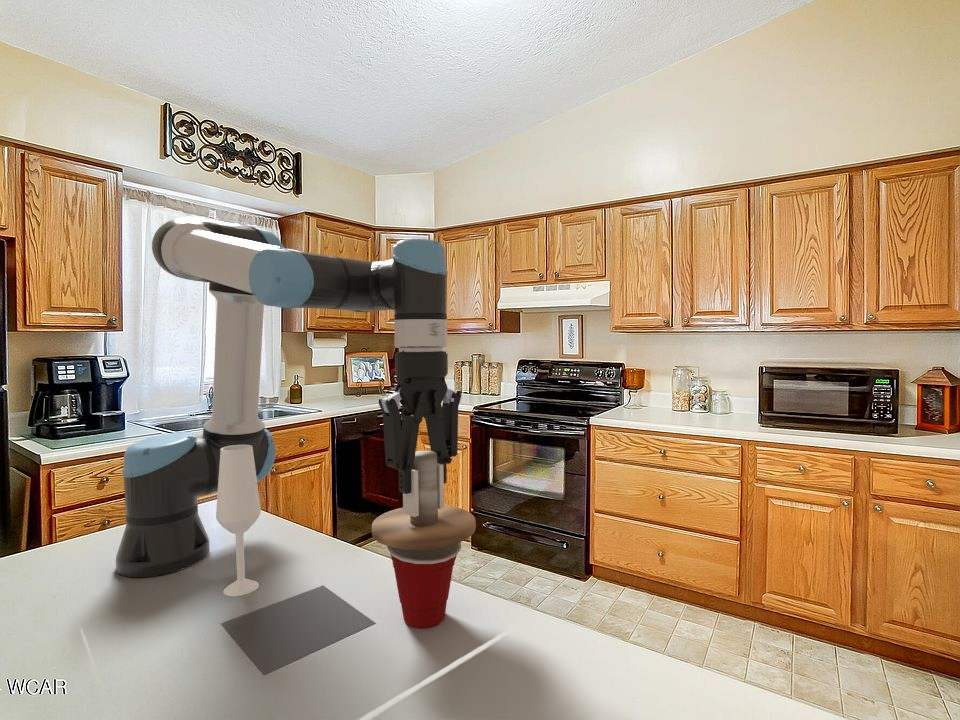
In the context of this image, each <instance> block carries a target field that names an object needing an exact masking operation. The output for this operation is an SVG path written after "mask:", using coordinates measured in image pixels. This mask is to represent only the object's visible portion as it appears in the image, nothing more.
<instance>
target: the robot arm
mask: <svg viewBox="0 0 960 720" xmlns="http://www.w3.org/2000/svg"><path fill="white" fill-rule="evenodd" d="M151 250H152V254H153V257H154V260H155V261H156V263H157V264H158V266H159V267H160V268H161V269H162V270H164V271H165V272H167V273H168V274H170V275H172V276H174V277H178V278H179V279H183V280H188V281H195V282H202V283H208V291H209V293H210V294H211V295H212V296H213V298H215V300H216V303H217V304H216V318H215V319H216V320H215V321H216V323H215V344H214V345H215V347H214V362H213V363H214V366H213V385H212V386H213V389H212V390H213V391H212V392H213V393H212V411H211V412H212V413H211V417H210V418H209V419H208V420H207V421H205V422H204V424H203V429H202V431H203V432H202V436H199V437H196V435H195V434H194V432H191V431H176V432H172V433H163V434H159V435H158V434H157V435H154V436H151V437H148V438H145V439H142V440H138V441H136V442H134V443H133V444H131V445H130V446H128V447H127V448H126V450H125V451H124V454H123V466H122V467H123V469H122V472H121V473H122V476H123V485H124V488H123V490H124V508H125V509H124V511H125V528H124V531H123V533H122V538H121V540H120V544H119V547H118V549H117V553H116V556H115V569H116V573H118V574H119V575H120V576H123V577H128V578H129V577H130V578H147V577H150V578H151V577H157V576H161V575H167V574H171V573H175V572H178V571H181V570H184V569H187V568H189V567H191V566H193V565H197V564H198V563H199V562H201V561H203V560H204V559H205V558H206V557H208V555H209V554H210V551H211V550H210V549H211V547H210V538H209V536H208V534H207V532H206V529H205V526H204V524H203V522H202V520H201V517H200V515H199V508H198V507H199V505H198V504H199V502H198V501H199V499H198V498H199V497H204V496H207V495H212V494H213V495H214V494H216V493H217V494H218V479H219V465H220V450H221V448H223V447H227V446H232V445H252V447H253V455H254V462H255V469H256V477H257V483H258V482H260V481H262V480H264V478H266V477H267V476H268V475H269V474H270V473H271V471H272V469H273V466H274V464H275V461H276V444H275V443H274V440H275V439H274V437H273V434H272V433H271V432H270V431H269V430H268V429H267V428H266V424H265V422H264V421H263V420H261V418H259V416H258V415H259V401H260V382H261V381H260V379H261V365H262V363H261V362H262V349H263V348H262V347H263V344H262V343H263V329H264V313H265V310H264V309H265V306H267V307H276V308H280V309H288V310H291V309H293V308H295V309H321V310H323V309H324V310H326V309H327V310H340V311H341V310H343V311H349V312H353V313H364V314H366V313H371V312H379V311H381V312H382V311H389V310H390V311H391V310H393V311H394V316H393V317H394V318H393V319H394V347H395V348H396V349H398V351H396V353H394V363H395V364H394V369H395V371H394V374H395V376H396V379H397V383H396V387H395V389H394V393H391V394H390V395H389V396H386V397H384V396H381V397H380V398H379V399H378V405H379V407H380V410H381V414H382V421H383V423H382V424H383V437H384V438H383V439H384V442H383V443H384V456H385V457H384V459H385V461H384V462H385V465H386V466H387V467H390V468H393V469H395V470H397V471H398V490H399V492H400V493H402V508H403V513H405V514H408V515H410V516H413V517H417V516H419V496H418V470H415V469H413V466H414V459H415V452H416V451H417V442H418V438H419V436H418V435H419V432H420V431H419V430H420V424H421V423H422V422H423V418H424V420H425V426H426V432H427V437H428V441H429V448H430V451H434V452H436V453H437V487H438V509H442V508H444V505H445V491H444V490H445V489H444V486H445V484H447V480H448V477H447V476H448V475H447V467H448V466H447V465H450V464H451V463H452V461H453V458H452V457H454V458H455V457H457V455H458V452H459V451H458V447H459V446H458V444H459V442H458V441H459V440H458V439H459V436H458V435H459V405H460V402H461V399H462V392H461V391H459V390H452V389H450V388H448V384H447V383H446V377H447V375H448V374H449V371H448V370H449V369H448V367H449V366H448V365H449V363H448V362H449V361H448V359H449V357H448V353H447V351H444V348H446V347H448V315H447V290H448V288H447V287H448V285H447V284H448V270H447V269H448V268H447V257H446V248H445V246H444V245H443V244H442V243H441V242H439V241H437V240H433V239H425V238H410V239H409V238H407V239H402V240H398V241H397V242H395V243H394V245H393V248H392V250H393V251H392V254H391V259H385V260H374V261H373V260H372V261H369V260H361V259H360V260H359V259H356V258H347V257H342V256H341V257H340V256H332V255H331V256H330V255H326V254H325V255H324V254H319V253H312V252H307V251H301V250H296V249H291V248H285V247H284V244H283V243H282V242H281V241H280V238H278V237H277V235H276V234H275V233H273V232H271V231H269V230H267V229H263V228H261V227H256V226H252V225H244V224H239V223H232V222H226V221H220V220H213V219H207V218H202V217H196V216H193V217H192V216H190V217H189V216H186V217H183V216H182V217H177V218H175V219H171V220H168V221H166V222H164V223H162V225H161V226H160V227H158V228H157V230H156V231H155V233H154V234H153V238H152V242H151ZM400 404H401V405H400ZM401 406H402V408H401ZM400 409H401V413H400ZM401 421H402V422H401ZM401 423H402V424H401Z"/></svg>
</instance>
